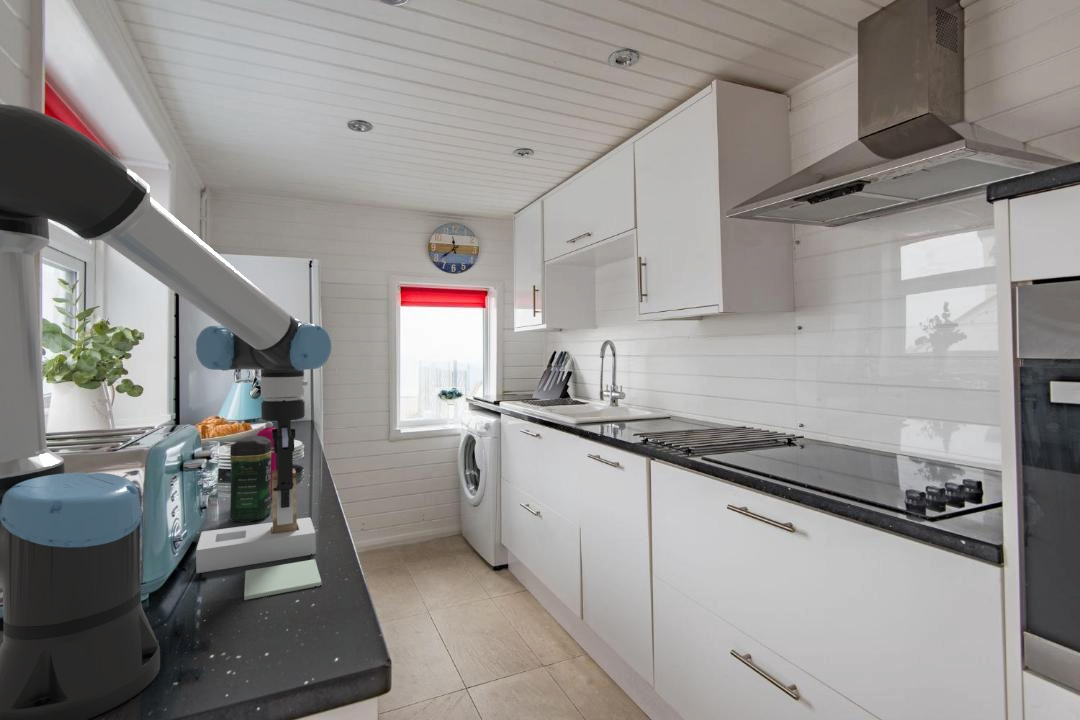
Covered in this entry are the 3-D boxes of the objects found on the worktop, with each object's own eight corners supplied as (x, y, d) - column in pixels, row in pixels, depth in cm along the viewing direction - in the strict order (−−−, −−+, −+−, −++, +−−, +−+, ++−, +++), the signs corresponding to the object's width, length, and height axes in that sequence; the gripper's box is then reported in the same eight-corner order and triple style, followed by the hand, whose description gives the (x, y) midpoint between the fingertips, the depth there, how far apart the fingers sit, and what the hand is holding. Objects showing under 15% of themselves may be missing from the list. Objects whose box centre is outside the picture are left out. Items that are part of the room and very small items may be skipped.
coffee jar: (264, 522, 122) (263, 439, 121) (225, 524, 120) (224, 440, 120) (276, 509, 131) (275, 433, 131) (240, 512, 129) (239, 434, 129)
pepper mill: (291, 495, 145) (290, 420, 145) (270, 502, 138) (269, 423, 138) (269, 493, 147) (268, 419, 147) (247, 500, 140) (247, 422, 140)
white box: (315, 553, 102) (315, 532, 102) (196, 573, 93) (196, 550, 93) (310, 536, 111) (310, 517, 111) (202, 552, 103) (201, 531, 103)
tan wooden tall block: (296, 550, 103) (296, 472, 103) (273, 554, 102) (272, 474, 101) (295, 544, 107) (294, 468, 107) (272, 547, 105) (272, 470, 105)
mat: (321, 585, 88) (321, 581, 88) (244, 600, 83) (244, 596, 83) (314, 562, 97) (314, 559, 97) (245, 574, 92) (245, 570, 92)
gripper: (308, 401, 98) (309, 529, 98) (301, 395, 113) (302, 506, 114) (261, 403, 95) (263, 536, 95) (260, 396, 110) (262, 511, 110)
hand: (284, 519), depth 104 cm, fingers open, 4 cm apart
